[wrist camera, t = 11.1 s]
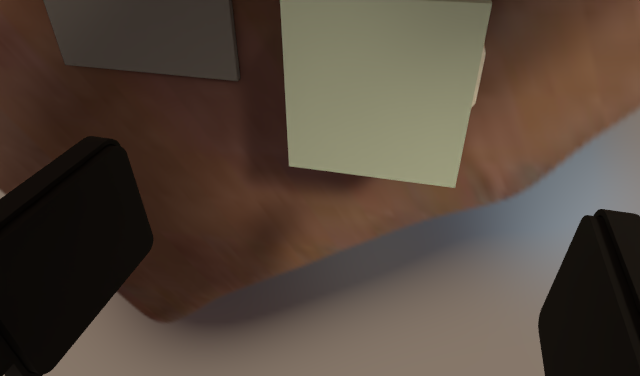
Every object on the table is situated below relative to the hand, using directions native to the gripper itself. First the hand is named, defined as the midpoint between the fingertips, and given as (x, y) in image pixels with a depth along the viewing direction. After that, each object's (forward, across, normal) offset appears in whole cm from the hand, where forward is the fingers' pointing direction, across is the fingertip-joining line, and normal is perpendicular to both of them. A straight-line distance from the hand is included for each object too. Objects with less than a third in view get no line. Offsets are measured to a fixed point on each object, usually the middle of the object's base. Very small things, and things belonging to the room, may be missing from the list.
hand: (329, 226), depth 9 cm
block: (+12, 0, +1) cm, 12 cm away
